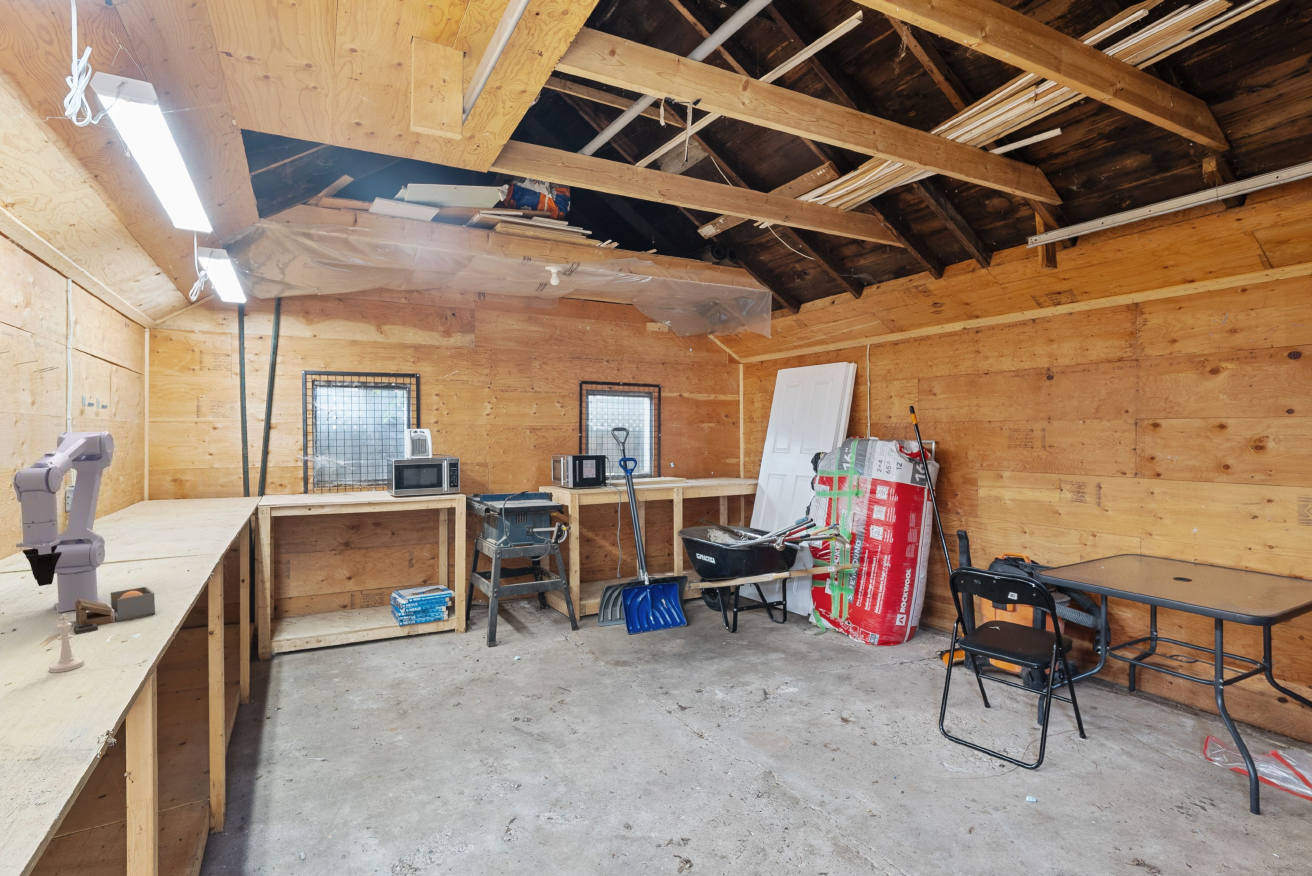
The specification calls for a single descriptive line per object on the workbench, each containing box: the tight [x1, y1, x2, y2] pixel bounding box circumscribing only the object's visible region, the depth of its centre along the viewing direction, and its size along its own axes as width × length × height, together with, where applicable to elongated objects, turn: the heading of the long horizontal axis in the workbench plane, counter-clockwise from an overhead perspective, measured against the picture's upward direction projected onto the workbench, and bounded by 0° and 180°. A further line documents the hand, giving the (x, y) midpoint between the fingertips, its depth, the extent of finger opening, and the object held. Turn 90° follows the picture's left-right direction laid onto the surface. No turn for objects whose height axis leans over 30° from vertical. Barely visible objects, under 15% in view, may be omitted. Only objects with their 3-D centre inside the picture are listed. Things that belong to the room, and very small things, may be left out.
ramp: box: [74, 599, 116, 626], centre depth 147 cm, size 8×6×5 cm
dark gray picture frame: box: [73, 623, 99, 635], centre depth 141 cm, size 4×4×1 cm
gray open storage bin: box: [110, 586, 156, 622], centre depth 152 cm, size 9×7×5 cm
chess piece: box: [48, 613, 85, 673], centre depth 120 cm, size 5×5×10 cm
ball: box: [120, 591, 143, 599], centre depth 152 cm, size 5×5×5 cm
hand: (43, 581), depth 144 cm, fingers open, 7 cm apart
